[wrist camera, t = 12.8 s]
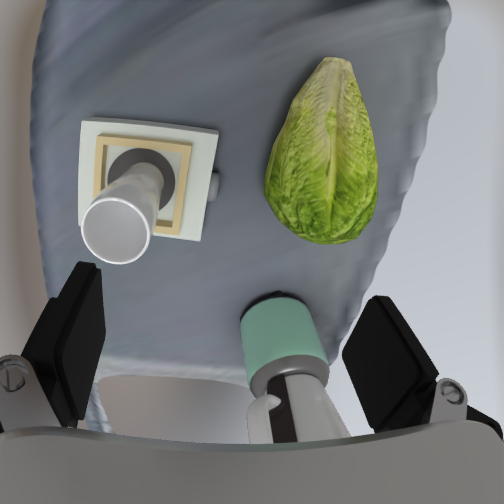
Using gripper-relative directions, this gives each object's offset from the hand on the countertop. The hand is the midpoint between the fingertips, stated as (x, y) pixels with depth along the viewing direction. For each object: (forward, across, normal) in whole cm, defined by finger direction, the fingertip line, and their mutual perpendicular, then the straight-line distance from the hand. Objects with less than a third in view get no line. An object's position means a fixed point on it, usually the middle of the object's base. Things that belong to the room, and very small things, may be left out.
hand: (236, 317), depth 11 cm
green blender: (+36, -15, +30) cm, 50 cm away
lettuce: (+37, -14, -2) cm, 39 cm away
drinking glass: (+32, +8, +7) cm, 34 cm away
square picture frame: (+36, +9, +7) cm, 38 cm away
